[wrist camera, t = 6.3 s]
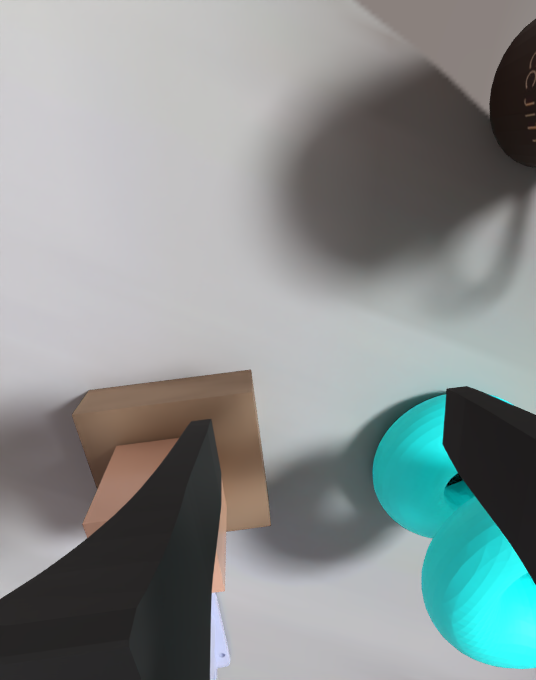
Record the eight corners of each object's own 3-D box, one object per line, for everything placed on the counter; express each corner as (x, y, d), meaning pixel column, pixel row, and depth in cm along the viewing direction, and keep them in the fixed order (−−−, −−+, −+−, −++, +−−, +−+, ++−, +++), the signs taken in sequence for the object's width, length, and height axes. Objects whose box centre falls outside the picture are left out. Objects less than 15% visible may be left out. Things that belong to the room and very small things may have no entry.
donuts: (739, 546, 15) (582, 696, 19) (551, 408, 25) (468, 525, 28) (533, 488, 14) (397, 666, 17) (412, 362, 23) (340, 493, 26)
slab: (267, 488, 26) (271, 525, 23) (130, 506, 26) (117, 546, 23) (250, 365, 23) (252, 392, 20) (92, 385, 22) (71, 414, 20)
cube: (226, 506, 23) (224, 591, 18) (138, 518, 22) (113, 607, 18) (213, 433, 21) (207, 507, 16) (116, 445, 20) (82, 524, 16)
